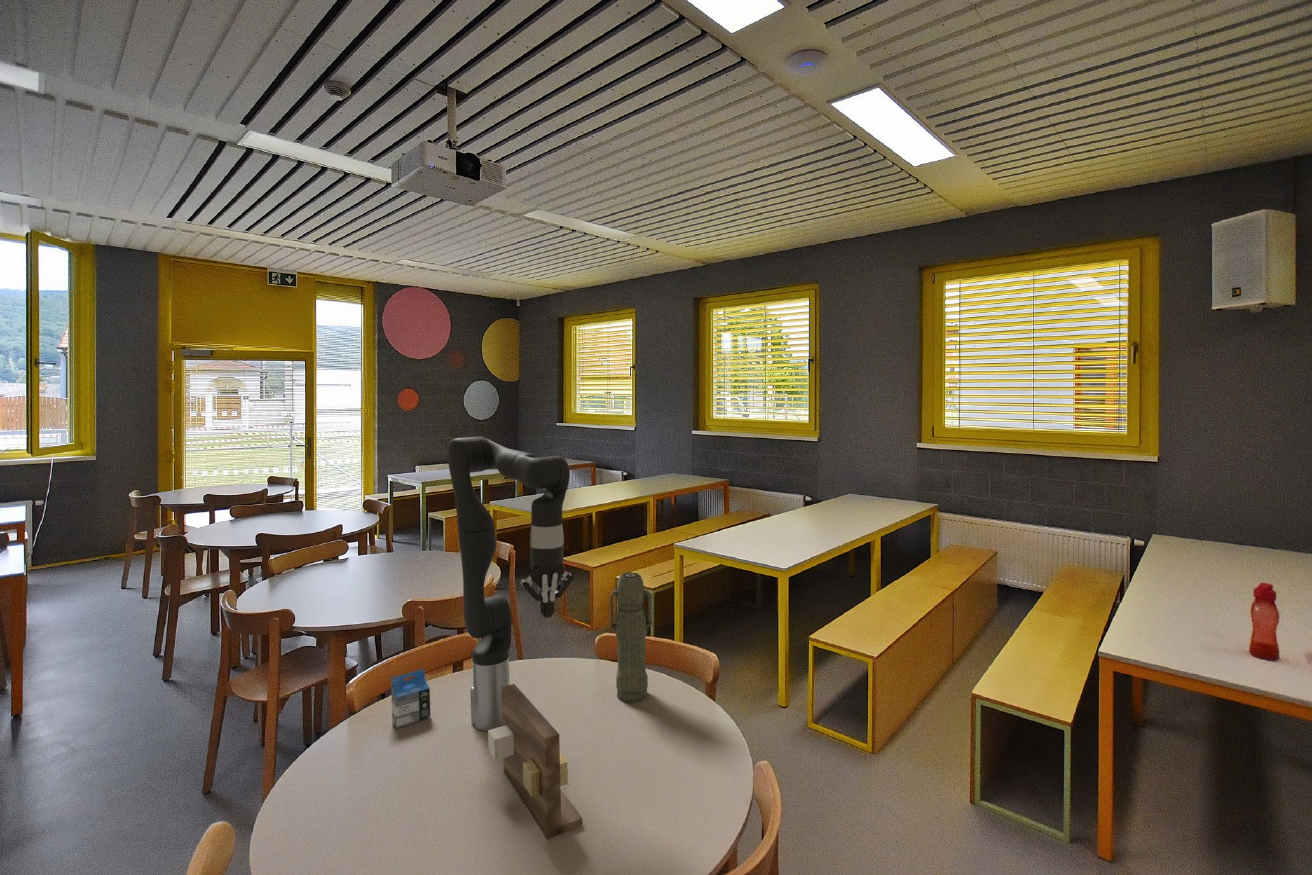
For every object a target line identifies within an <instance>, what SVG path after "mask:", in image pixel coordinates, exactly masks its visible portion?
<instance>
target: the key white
mask: <svg viewBox="0 0 1312 875" xmlns="http://www.w3.org/2000/svg"><path fill="white" fill-rule="evenodd" d="M487 738H488V743H487V744H488V752H489V754H490V755H491V756H492V758H493V760H494V762H495V761H498V760H502V759H503V758H505V757H509V756H512V755H514V733H513V732H512V731H511V729H510V728H509V727H508V725H505V726H502V727H498V728H495V729H491V730H488V731H487Z"/></svg>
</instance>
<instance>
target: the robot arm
mask: <svg viewBox="0 0 1312 875" xmlns="http://www.w3.org/2000/svg"><path fill="white" fill-rule="evenodd" d="M447 463H448V469H449V474H450V479H451V484H452V490H453V494H454V502H455V511H456V512H455V513H456V519H457V536H458V544H459V550H460V559H461V569H462V570H461V571H462V586H463V587H462V592H463V594H462V596H463V599H462V600H463V603H462V604H463V622H464V625H465V629H466V631H467V634H469V636H470V637H471V638H473V639H481V638H482V640H481V641H480V642H479V643H477V644H476V646H475V647H474V648H473V650H472V653H471V657H472V658H471V659H472V660H471V661H472V687H470V716H471V718H470V719H471V720H470V721H471V724H473V725H474V728H475V729H477V730H480V731H483V732H488V730H491V729H495V728H498V727H502V689H501V687H503V686H507V685H511V683H510V656H509V655H510V654H509V653H510V649H511V646H512V625H513V624H512V623H513V620H512V619H513V618H512V609H511V606H510V603H509V600H507V598H506V597H505V596H503V595H502V594H501V595H500V594H496V595H492V596H489V597H485V581H486V577H487V574H488V571H489V568H490V566H491V564H492V562H493V560H494V556H495V553H496V550H497V535H496V528H495V527H496V526H495V520H494V519H493V516H492V515H491V513H490V512H489V510H488V509H487V508H486V506H485V505H484V504H483V503H482V501H481V500H480V499H479V497H478V496H477V494H476V492H475V490H474V486H473V483H472V478H471V474H472V473H481V472H484V471H489V470H491V471H492V470H497V471H498V472H499V474H501V475H502V476H503V477H505V478H507V479H510V480H514V481H518V482H520V483H522V484H523V485H524V486H525V487H527V488H530V489H534V490H540V489H541V490H542V489H545V491H544V494H542V495H541V496H539V497H537V498H535V499H534V500H533V501H532V502H531V512H530V515H531V516H530V518H531V519H530V521H531V523H530V524H531V525H530V533H529V534H530V536H529V537H530V538H529V539H530V540H529V542H530V544H529V545H530V546H529V547H530V548H529V549H530V562H529V563H530V568H529V570H528V575H527V576H526V577H525V578H521V579H520V580H519V584H520V585H521V586H522V587H523V589H524V590H526V592H527V593H528V594H529V595H530V596H531V598H533V599H534V600H535V601H536V602H540V603H539V604H540V610H539V612H540V614H541V615H542V616H543V617H544V618H545V619H547V618H552V617H553V616H552V615H554V613H555V601H556V599H558V598H561V597H562V596H563V595H564V594H565V592H566V590H567V589H568V587H569V586H570V584H571V583H572V582H573V580H574V579H575V576H574V575H573V574H572V573H570V572H568V571H566V567H565V565H564V543H565V542H564V541H565V537H564V527H563V526H564V525H563V504H564V502H565V498H566V495H567V491H568V486H569V483H570V478H571V471H570V466H569V463H568V462H567V460H566V459H565V458H564V457H562V456H559V455H554V456H553V455H551V456H544V457H537V456H536V455H535V454H533V453H530V452H527V451H521V450H516V449H511V448H508V447H505V446H503V445H501V444H499V443H497V442H495V441H493V440H492V439H489V438H487V437H484V436H470V437H458V438H453V439H452V440H450V442H449V443H448V447H447ZM532 581H533V582H534V583H535V585H536V586H537V590H538V593H537V592H536V590H535V589H534V588H533V587H532V586H533V582H532Z"/></svg>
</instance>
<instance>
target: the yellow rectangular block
mask: <svg viewBox="0 0 1312 875" xmlns="http://www.w3.org/2000/svg"><path fill="white" fill-rule="evenodd" d="M568 772H569V771H568V760H567V759H566V758H565V757H564V756H563V754H561V753H560V788H561V787H563V786H566V785H569V778H568V777H569V775H568ZM523 785H524V786H525V788H526V789H527V791H528V792H529V794H530V795H531V797H532V796H535V795H538V794H541V793H542V787H541V769H540V768H539V766H538V765H537V764H536V762H535V761H534V760H533V759H532V760H529V761H526V762H523Z"/></svg>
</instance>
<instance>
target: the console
mask: <svg viewBox="0 0 1312 875" xmlns="http://www.w3.org/2000/svg"><path fill="white" fill-rule="evenodd" d="M501 689H502V726H505V725H508V727H509V728H510V729H511V731H512V732H513V733H514V755H512V756H509V757H505V758H502V759H503V774H504V775H505V777H506V778H507V780H508V781H509V783H510V784H511V786H512V788H513V789H514V791H515V792H516V794H517V795H518V798H519V799H520V800H521V802H522V803H523V804H524V806H525V808H526V809H527V810H528V812H529V814H530V815H531V817H532V818H533V820H534V821H535V823H536V824H537V826H538V828H539V829H540V831H541V832H542V834H543V836H544V837H545V839H546V840H549V839H552V838H554V837H556V836H559V835H561V834H564V833H567V832H569V831H573V829H576V828H579V827H581V826H583V817H582V816H581V814H580V813H579V812H578V810H577V809H576V808H575V806H574V805H573V804H572V802H571V801H570V800H569V799H568V797H567V796H566V794H565V793H564V792H563V791H562V788H561V787H560V754H561V751H560V750H561V749H560V733H559V732H558V731H557V730H556V729H555V728H554V727H553V726H552V724H551V723H550V722H549V721H548V719H546V718H545V717H544V715H543V714H542V713H541V712H540V711H539V709H537V707H536V706H535V705H534V704H533V703H532V702H531V700H530V699H529V698H528V697H527V696H526V695H525V693H524V692H522V691H521V689H520V688H519V687H518V686H517V685H516V684H515V683H510V685H507V686H503V687H501ZM532 759H533V760H534V761H535V762H536V764H537V765H538V766H539V768H540V769H541V787H542V793H541V794H538V795H535V796H532V797H531V795H530V794H529V792H528V791H527V789H526V788H525V786H524V785H523V762H526V761H529V760H532Z"/></svg>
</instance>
